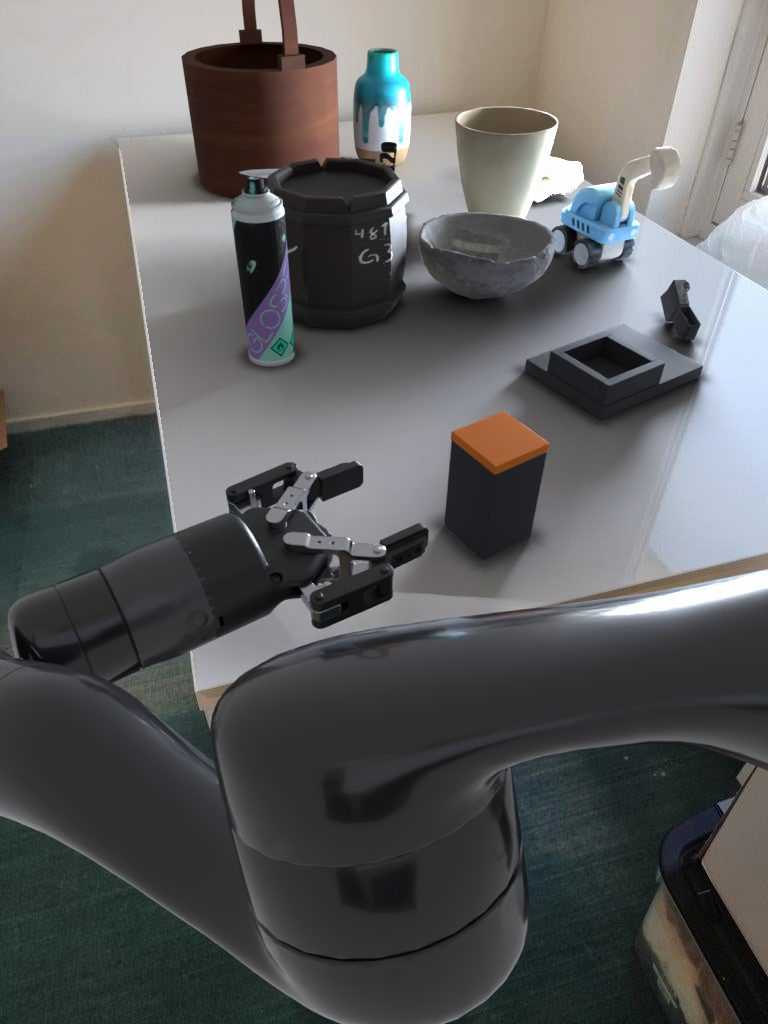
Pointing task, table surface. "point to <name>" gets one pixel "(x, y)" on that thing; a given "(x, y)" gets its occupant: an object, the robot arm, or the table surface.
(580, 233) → the toy excavator
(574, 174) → the stone
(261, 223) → the spray can
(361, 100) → the vase
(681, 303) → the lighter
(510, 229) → the bowl
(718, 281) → the table surface
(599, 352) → the dark square socket base
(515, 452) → the black and orange block
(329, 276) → the barrel
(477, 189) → the plant pot
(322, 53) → the bucket
